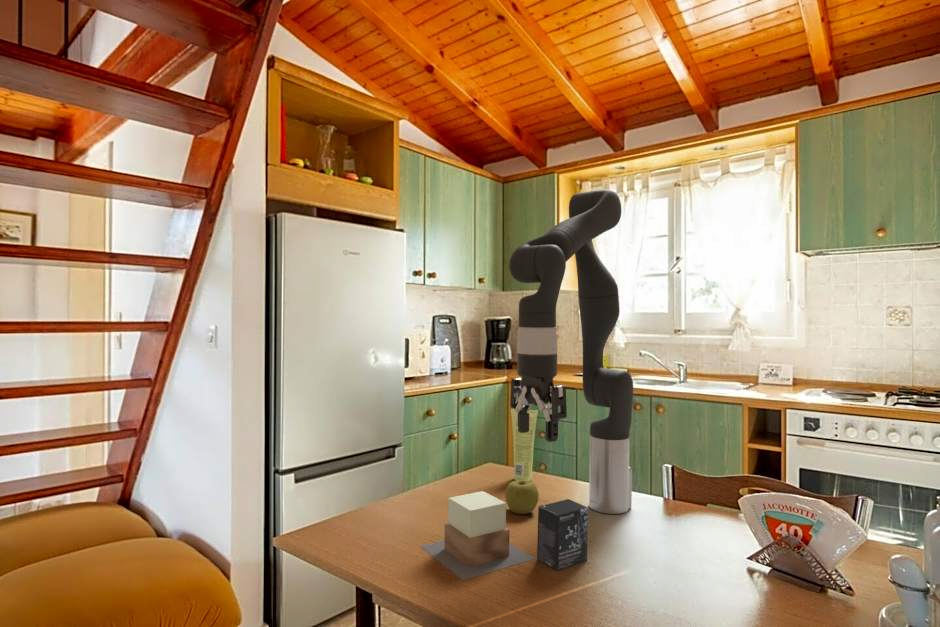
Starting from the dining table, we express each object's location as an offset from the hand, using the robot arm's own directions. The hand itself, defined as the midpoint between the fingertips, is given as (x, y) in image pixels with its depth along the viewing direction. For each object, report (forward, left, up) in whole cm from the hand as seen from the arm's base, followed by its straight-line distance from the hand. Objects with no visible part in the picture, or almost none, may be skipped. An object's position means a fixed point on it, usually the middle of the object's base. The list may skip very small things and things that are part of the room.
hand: (536, 436), depth 104 cm
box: (-3, +4, -23) cm, 24 cm away
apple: (-12, -20, -23) cm, 33 cm away
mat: (+9, -7, -23) cm, 26 cm away
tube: (-28, -40, -23) cm, 54 cm away
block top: (+9, -7, -18) cm, 21 cm away
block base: (+9, -7, -23) cm, 25 cm away
